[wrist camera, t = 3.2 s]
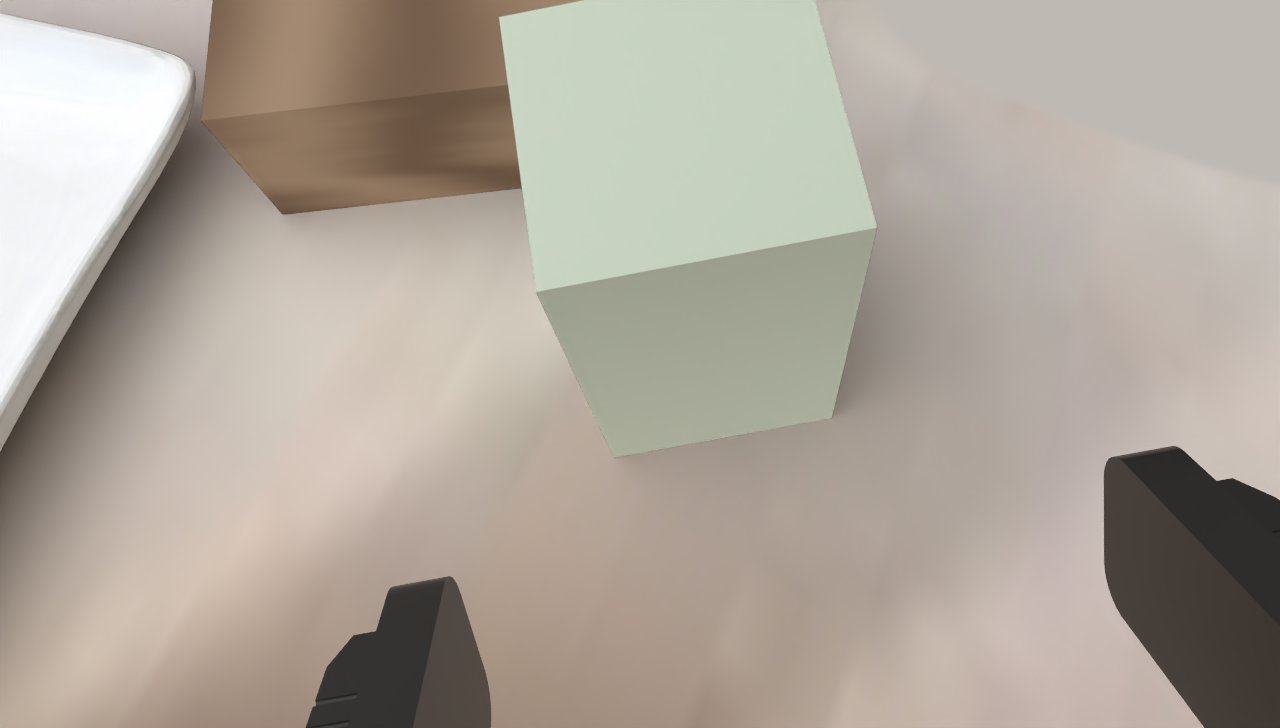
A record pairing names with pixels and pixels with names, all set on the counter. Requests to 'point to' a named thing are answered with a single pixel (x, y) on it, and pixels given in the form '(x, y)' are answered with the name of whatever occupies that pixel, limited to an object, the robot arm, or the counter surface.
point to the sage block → (690, 210)
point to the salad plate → (71, 176)
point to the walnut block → (363, 98)
